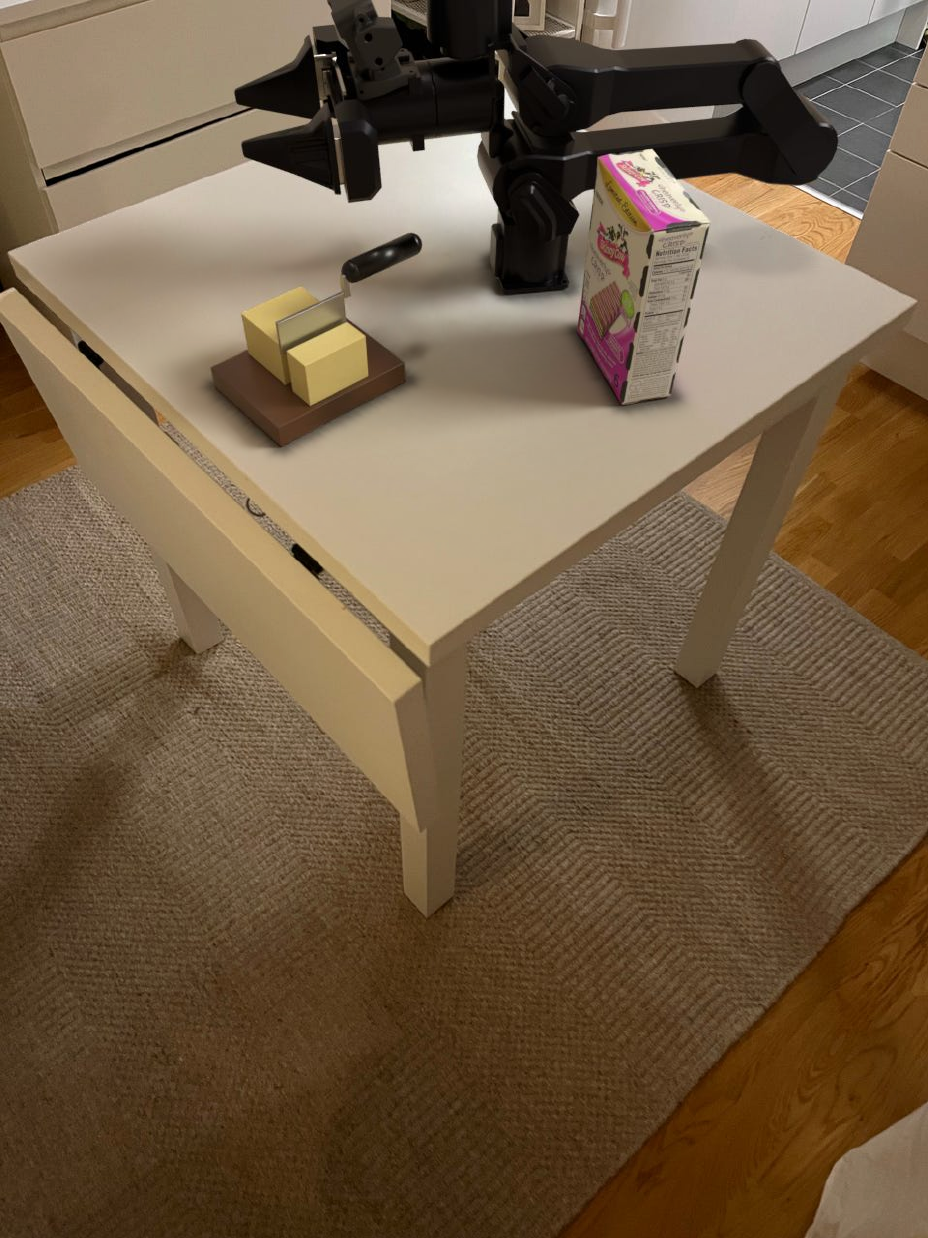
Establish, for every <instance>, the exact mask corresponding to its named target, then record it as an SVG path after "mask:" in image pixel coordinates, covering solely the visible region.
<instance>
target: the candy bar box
mask: <svg viewBox="0 0 928 1238" xmlns="http://www.w3.org/2000/svg"><path fill="white" fill-rule="evenodd" d="M592 195H593V196H592V206H591V214H590V220H589V229H588V238H587V248H586V254H585V255H586V256H585V263H584V273H583V281H582V289H581V298H580V306H579V313H578V320H577V328H576V331H577V332H578V334H579V336H580V337H581V339H582V341H583V342H584V344H585V346H586V347H587V349H588V351H589V352H590V354H591V356H592V357H593V359H594V361H595V362H596V364H597V366H598V367H599V369H600V371H601V372H602V374H603V376H604V377H605V380H606V381H607V382H608V384H609V386H610V387H611V389H612V392H613V393H614V394H615V396H616V399H618V401H619V403H620V405H622V406H626V405H635V404H637V403H642V402H647V401H653V400H659V399H663V398H669V397H671V396H672V393H673V392H672V391H673V387H674V383H675V379H676V374H677V372H678V371H677V370H678V366H679V361H680V356H681V353H682V347H683V344H684V339H685V335H686V331H687V326H688V322H689V317H690V314H691V309H692V305H693V301H694V295H695V291H696V287H697V282H698V279H699V278H698V277H699V274H700V269H701V266H702V261H703V256H704V251H705V248H706V244H707V239H708V235H709V230H710V226H711V223H712V222H711V220H710V219H709V218H708V217H707V216H706V214H705V213H704V212H703V211H702V209H701V208H700V207H699V206H698V204H697V203H696V202H695V201H694V199H693V198H692V197H691V196H690V194H689V193H688V192H687V190H686V189H685V188H684V187H683V186H682V184H681V183H680V182H679V181H678V180H676V178H675V177H674V176H673V174H672V173H671V172H670V171H669V169H668V168H667V167H666V166H665V164H664V163H663V162H662V160H661V159H660V158H659V157H658V155H657V154H656V153H655V152H654V150H653V149H647V150H640V151H634V152H624V153H619V154H618V155H617V154H613V153H612V154H607V155H604V156H600V157H598V159H597V170H596V178H595V187H594V190H593V194H592Z"/></svg>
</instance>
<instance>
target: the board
mask: <svg viewBox="0 0 928 1238" xmlns="http://www.w3.org/2000/svg"><path fill="white" fill-rule="evenodd" d="M346 321H347V322H348V323H349V324H350V325H352V326H353V327H354V328H356V329H357V330H358V331H359V332H361V333H362V334H363V335H365V337H366V350H367V363H368V377H366V378H364V379H362V380H360V381H358V382H356V383H354V384H352V385H350V386H348V387H346V388H344V389H342V390H340V391H339V392H337V393H335V394H333V395H331V396H329V397H327V398H325V399H323V400H321V401H319V402H317V403H315V404H313V405H311V406H310V405H308V404H307V403H306V402H305V401H304V400H303V399H301V398H300V397H299V396H298V395H297V394H296V393H294V392H293V390H292V383H291V382H290V383H288V384H286V385H285V384H284V383H283V382H281V381H280V380H279V379H278V378H277V377H276V376H274V375H273V374H272V373H271V372H270V371H269V370H267V369H266V368H265V367H264V366H263V365H262V364H260V363H259V362H258V361H257V360H256V359H255V358H253V357H252V356H251V355H250V354H249V353H248V349H247V350H244V351H242V352H240V353H238V354H236V355H233V356H230V357H229V358H227V359H225V360H222V361H221V362H218V363H216V364H214V365H212V366H210V367H209V368H210V369H209V370H210V374H211V377H212V381H213V386H214V387H215V388H216V389H217V390H218V391H219V392H220V393H221V394H222V395H223V396H225V397H226V398H227V399H228V400H229V401H230V402H231V403H233V405H234V406H236V408H238V409H239V410H240V411H241V412H242V413H243V414H244V415H245V416H247V417H248V418H249V419H250V420H251V421H252V422H253V423H254V424H255V425H256V426H257V427H259V428H260V429H261V430H262V431H263V432H264V433H265V434H267V435H268V437H270V438H271V439H272V440H273V441H274V442H275V443H276V444H277V445H278V446H280V447H281V448H282V447H284V446H285V445H288V444H289V443H292V442H293V441H295V440H298V439H299V438H301V437H303V436H304V435H307V434H308V433H310V432H312V431H314V430H316V429H318V428H320V427H322V426H324V425H325V424H327V423H329V422H331V421H333V420H335V419H337V418H338V417H341V416H342V415H344V414H346V413H349V412H350V411H352V410H354V409H355V408H357V407H359V406H361V405H364V404H365V403H367V402H369V401H370V400H372V399H374V398H376V397H378V396H380V395H382V394H384V393H386V392H388V391H390V390H391V389H393V388H396V387H397V386H399V385H401V384H403V383H405V382H406V380H407V379H406V362H405V361H404V360H403V359H401V358H400V357H399V356H397V355H396V354H395V353H393V352H392V351H391V350H389V349H388V348H387V347H385V346H384V345H383V344H382V343H380V342H379V341H377V339H375V338H374V337H373V336H371V335H370V334H369V333H367V332H366V331H365V330H363V329H362V328H361V327H359V326H358V325H357V324H355V322H353V321H351V320H350V319H349V318H347V317H346Z"/></svg>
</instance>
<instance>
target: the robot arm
mask: <svg viewBox="0 0 928 1238" xmlns="http://www.w3.org/2000/svg"><path fill="white" fill-rule="evenodd" d="M326 2H327V3H326V4H327V5H328V6H329V7H330V10H331V11H330V16H331V18H332V20H333V24H325V25H315V26H312V37H313V43H312V39H311V35H310V34H307V35H306V36H305V37H304V39H303V43H302V45H301V47H300V49H299V50H298V53H297V54H296V55H295V58H294V59H293V60H292V61H291V62H289V63H287V64H285V65H283V66H281V67H279V68H277V69H275V70H273V71H270V72H269V73H266V74H265V75H264V74H263V75H262V76H260V77H258V78H255V79H254V80H251V81H249V82H247V83H245V84H242V85H240V86H238V87H236V88H235V89H233V95H234V99H235V103H236V105H238V106H243V107H247V108H251V109H255V110H259V111H265V112H270V113H277V114H282V115H286V116H292V117H297V118H301V119H307V120H310V121H309V122H307V123H305V124H302V125H297V126H293V127H288V128H285V129H281V130H277V131H272V132H269V133H265V134H261V135H257V136H254V137H251V138H247V139H245V140H242V141H241V143H240V146H241V152H242V156H243V157H244V158H246V159H249V160H251V161H254V162H257V163H259V164H263V165H265V166H268V167H271V168H275V169H276V170H280V171H283V172H285V173H289V174H292V175H293V176H296V177H298V178H299V177H300V178H301V179H305V180H307V181H309V182H311V183H314V184H316V185H319V186H321V187H324V188H326V189H329V190H331V191H333V194H334V195H337V196H342V189H341V188H342V187H341V186H342V185H343V188H344V193H345V196H346V200H347V203H348V204H352V203H360V202H361V203H362V202H368V201H373V199H374V198H375V197H376V195H377V194H378V193H379V192H380V191H381V189H382V188H383V186H382V185H383V184H382V176H381V174H382V173H381V163H380V151H379V146H385V145H394V144H401V143H409V144H410V148H411V150H412V153H413V152H421V151H426V145H425V143H426V142H425V141H427V140H435V139H442V138H451V137H460V136H468V135H476V134H480V139H481V140H480V143H479V144H478V146H477V147H478V148H477V154H476V158H477V159H476V160H477V165H478V168H479V171H480V173H481V175H482V177H483V179H484V181H485V183H486V186H487V188H488V190H489V192H490V194H491V196H492V199H493V201H494V203H495V204H496V206H497V218H496V222H495V223H492V225H491V226H490V243H489V246H490V247H489V264H490V268H491V271H492V274H493V275H494V277H495V278H496V279H497V280H498V283H499V285H500V287H501V291H502V293H504V294H508V295H509V294H519V293H529V292H540V291H541V292H542V291H550V290H562V289H567V288H569V286H570V280H569V278H568V275H567V273H566V263H567V255H568V246H569V237H570V235H571V234H572V231H573V230H574V228H575V226H576V224H577V222H578V220H579V217H580V212H579V210H578V209H577V206H576V205H575V203H574V201H573V200H574V199H575V198H577V197H579V196H580V195H581V194H582V193H585V192H587V191H592V190H593V191H594V187H595V178H596V170H597V159H598V157H600V156H604V155H607V154H612V153H613V154H617V155H618V154H619V153H624V152H634V151H640V150H647V149H653V150H654V152H655V153H656V154H657V155H658V157H659V158H660V159H661V160H662V162H663V163H664V164H665V166H666V167H667V168H668V169H669V171H670V172H671V173H672V174H673V176H674V177H675V178H676V180H677V181H678V180H679V181H680V180H687V179H696V178H705V177H713V176H722V175H738V176H741V177H744V178H748V179H751V180H754V181H757V182H760V183H764V184H766V185H775V186H790V187H791V186H792V187H800V186H804V185H808V184H811V183H813V182H815V181H817V180H818V178H819V176H820V175H821V174H822V173H823V172H824V171H825V170H826V169H827V168H828V166H829V165H830V164H831V163H832V161H833V160H834V158H835V155H836V153H837V151H838V146H839V136H838V131H837V130H836V128H835V126H834V125H833V124H832V123H831V122H830V121H829V120H828V119H827V118H826V117H825V116H824V115H823V114H822V113H821V112H820V110H818V109H817V108H816V106H815V105H814V104H813V103H812V102H811V101H810V100H809V99H808V98H807V96H805V95H804V94H803V93H802V92H801V91H798V90H796V89H795V90H794V88H793V86H792V85H791V84H790V82H789V81H788V79H787V77H786V76H785V74H784V73H783V71H782V66H781V64H780V62H779V60H777V58H775V56H774V54H772V53H771V52H770V51H769V50H768V49H767V48H766V47H765V46H764V44H762V43H761V42H760V41H759V40H757V39H753V38H743V39H740V40H737V41H736V42H728V43H711V44H696V45H695V44H694V45H680V46H679V45H678V46H677V45H676V46H662V47H661V46H660V47H643V48H630V49H629V48H627V49H610V48H603V47H599V46H596V45H594V44H591V43H588V42H584V41H582V40H579V39H576V38H569V37H563V36H555V35H550V34H541V33H540V34H539V33H538V34H534V35H529V34H528V33H527V32H525V31H524V30H523V29H521V28H520V27H519V26H517V25H516V24H515V22H513V2H514V0H425V15H426V16H425V17H426V37H427V40H428V41H429V42H430V43H431V44H432V45H434V46H436V47H439V49H440V53H441V54H442V55H443V56H444V57H440V58H431V59H423V60H415V59H414V56H413V54H412V51H409V50H408V48H403V46H404V43H403V41H402V38H401V36H400V34H399V32H398V29H397V26H396V24H395V22H394V19H393V17H390V16H379V14H378V12H377V10H376V7H375V4H374V2H373V0H326ZM496 54H497V56H498V58H499V59H500V62H501V63H502V65H503V67H504V70H503V82H502V81H501V80H500V79H499V78H497V77H496ZM506 93H507V96H508V97H509V99H510V101H511V103H512V105H513V107H514V108H515V110H512V111H511V112H510V115H511V116H512V118H505V104H506V103H505V101H506V100H505V99H506V98H505V96H506ZM321 104H322V106H321ZM731 105H741V107H740V108H739V109H737V110H736V111H735V112H733V113H732V114H729V115H726V116H721V117H719V116H718V117H711V118H702V119H701V118H700V119H692V120H683V121H674V122H664V123H653V124H645V125H637V126H627V127H617V128H608V129H599V130H591V131H590V130H589V131H583V130H586V129H589V128H592V127H593V126H594V125H596V124H597V123H599V122H600V121H602V120H603V119H605V118H606V117H609V116H613V115H617V114H621V113H631V112H632V113H633V112H645V111H658V110H659V111H661V110H674V109H675V110H676V109H689V108H701V107H713V106H714V107H715V106H717V107H718V106H731ZM333 119H334V120H336V122H337V124H333Z"/></svg>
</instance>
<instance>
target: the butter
mask: <svg viewBox="0 0 928 1238" xmlns="http://www.w3.org/2000/svg"><path fill="white" fill-rule="evenodd" d="M320 301H321V300H319V298H316V296H314V295H313V294H312V293H310V292H309V291H308V290H306V289H305V288H304V287H302V286H298V287H296V288H294V289H291V290H289V291H287V292H284V293H283V294H280V295H278V296H276V297H274V298H272V299H269V300H267V301H264V302H263V303H260V304H258V305H256V306H253V307H251V308H249V309H247V310H245V311H242V312H241V313H240V316H241V321H242V327H243V331H244V336H245V341H246V348H247V350H248V353H249V354H250V355H251V356H252V357H253V358H255V359H256V360H257V361H258V362H259V363H260V364H262V365H263V366H264V367H265V368H266V369H267V370H269V371H270V372H271V373H272V374H273V375H274V376H276V377H277V378H278V379H279V380H280V381H281V382H283V383H284V384H285V385H286V384H288V383H290V382H291V383H292V390H293V392H294V393H296V394H297V395H298V396H299V397H300V398H301V399H303V400H304V401H305V402H306V403H307V404H308V405H310V406H311V405H313V404H315V403H317V402H319V401H321V400H323V399H325V398H327V397H329V396H331V395H333V394H335V393H337V392H339V391H340V390H342V389H344V388H346V387H348V386H350V385H352V384H354V383H356V382H358V381H360V380H362V379H364V378H366V377H368V363H367V350H366V337H365V335H363V334H362V333H361V332H359V331H358V330H357V329H356V328H354V327H353V326H352V325H350V324H349V323H348V322H346V323H344V324H342V325H340V326H338V327H335V328H333V329H331V330H329V331H327V332H325V333H323V334H321V335H319V336H317V337H315V338H313V339H311V340H308V341H306V342H304V343H302V344H300V345H298V346H296V347H294V348H292V349H290V350H288V351H287V354H285V355H283V356H282V355H281V354H280V348H279V342H278V336H277V330H276V323H275V322H277V321H279V320H281V319H283V318H285V317H287V316H290V315H292V314H294V313H296V312H298V311H300V310H303V309H305V308H307V307H309V306H311V305H313V304H315V303H318V302H320Z"/></svg>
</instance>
